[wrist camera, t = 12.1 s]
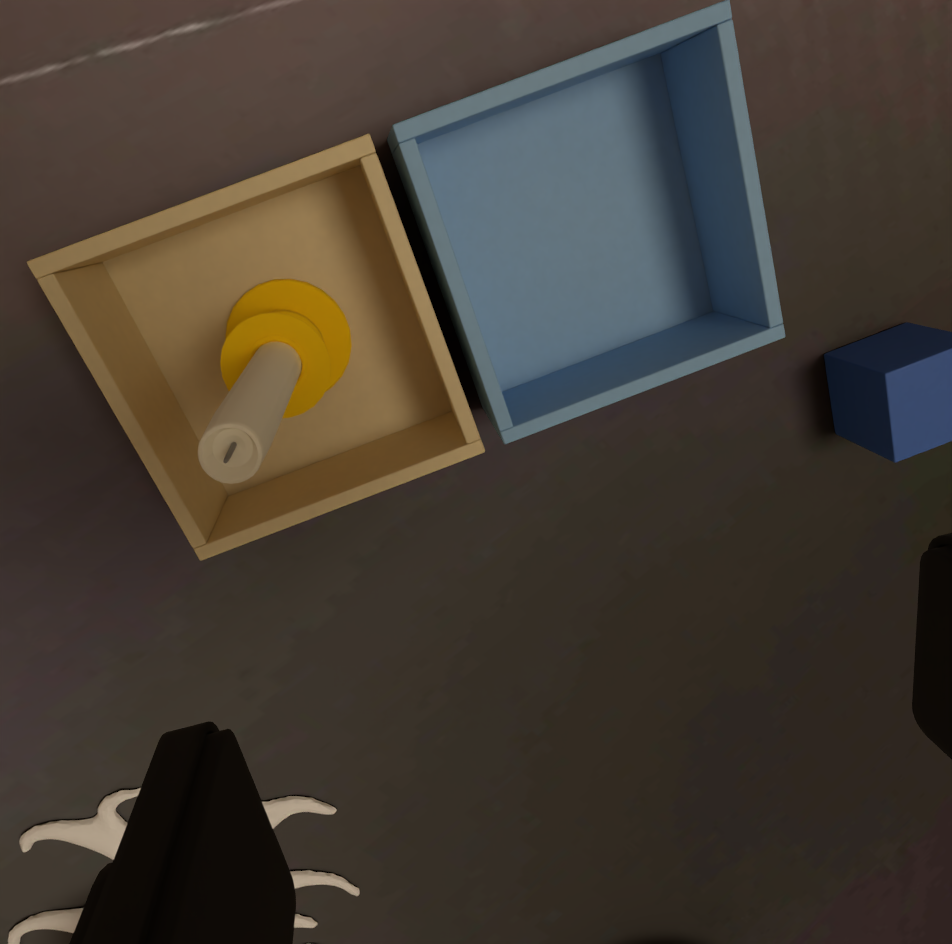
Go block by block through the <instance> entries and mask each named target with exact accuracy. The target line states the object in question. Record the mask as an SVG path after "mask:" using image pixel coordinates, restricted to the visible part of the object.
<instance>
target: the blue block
mask: <svg viewBox="0 0 952 944" xmlns="http://www.w3.org/2000/svg"><path fill="white" fill-rule="evenodd" d="M824 360H825V367H826V374H827V381H828V388H829V394H830V401H831V408H832V415H833V422H834V429H835V433H836V434H837V435H839V436H841V437H843V438H845V439H847V440H849V441H851V442H854V443H856V444H858V445H860V446H862V447H864V448H866V449H868V450H870V451H872V452H874V453H876V454H878V455H880V456H882V457H884V458H887V459H889V460H891V461H893V462H898V461H901V460H903V459H906V458H909V457H911V456H914V455H916V454H919V453H922V452H924V451H927V450H929V449H932V448H934V447H937V446H940V445H942V444H945V443H947V442H950V441H952V332H948V331H944V330H939V329H935V328H930V327H925V326H921V325H916V324H912V323H904V324H901V325H898V326H896V327H893V328H891V329H888V330H885V331H883V332H880V333H878V334H875V335H872V336H870V337H867V338H865V339H862V340H859V341H857V342H854V343H851V344H849V345H846V346H844V347H841V348H838V349H836V350H833V351H831V352H828V353H825V354H824Z"/></svg>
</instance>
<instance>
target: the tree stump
mask: <svg viewBox="0 0 952 944" xmlns="http://www.w3.org/2000/svg"><path fill="white" fill-rule="evenodd" d="M140 789H141V788H138V789H135V790H120V791H119V792H117V793H113V794H111V795H110V796H106V797H105V798H104V799H103V800H102V802H101V803H100V805H99V807H98V810H97V811H98V814H97V815H96V816H95V817H93V818H90V819H84V820H69V821H67V820H60V821H52V822H48V823H45V824H41V825H37V826H34V827H32V828H31V829H30V830H28V831H27V832H25V833H24V834H23V835H22V836H21V837H20V841H19V843H20V846H21V849H22V852H26V851H28V850H30V849H31V847H32V845H33V843H34V842H36V841H38V840H44V839H57V840H63V841H67V842H70V843H73V844H77V845H80V846H83V847H86V848H89V849H91V850H94V851H96V852H99V853H101V854H103V855H105V856H107V857H109V858H111V859H112V860H114V858H115V855H116V852H117V850H118V847H119V844H120V842H121V839H122V837H123V834H124V831H125V829H126V826H127V822H125V821H124V820H123V818H122V817H121V816H120V815H119V814H118V813H117V812H116V807H117V806H118V805H119V804H120V803H121V802H123V801H124V800H126V799H130V798H133V797H136V796H138V795H139V792H140ZM262 804H263V806H264V809H265V811H266V813H267V816H268V818H269V821H270V823H271V826H272V828H274V827H275V826H276V825H278V824H279V823H280V822H281V821H282V820H283V819H285V818H286V817H288V816H289V815H291V814H294V813H299V812H313V813H319V814H334V813H335V812H336V811H337V810H336V808H335V807H333V806H331V805H329V804H327V803H324V802H321V801H318V800H315V799H314V798H312V797H301V796H287V797H285V798H279V799H277V800H271V801H269V802H262ZM290 873H291V875H292V878H293V882H294V887H295V888H299V887H303V886H307V885H319V884H326V885H334V886H338V887H340V888H342V889H344V890H346V891H347V892H349V893H350V894H352V895H355V896H358V895H359V894H360V893H359V888H357V887H355V886H354V885H353V884H351V883H349V882H348V881H347V880H346V879H344V878H343V877H340V876H337V875H335V874H333V873H325V872H314V871H310V870H306V871H290ZM82 911H83V908H77V909H70V910H58V911H48V912H42V913H39V914H37V915H35V916H30V917H29V918H28V919H26V920H24V921H23V922H21V923H19V924H17V925H16V926H14V928H13V929H12V930H11V931H10V933H9V938H8V944H20V937H21V936H22V935H23V934H24V933H26V932H29V931H32V930H38V929H53V930H60V931H66V932H70V933H74V931H75V928H76V926H77V923H78V921H79V918H80V916H81V913H82ZM317 924H318V923H317V922H316V921H314V920H313V919H312V918H311V917H304V916H301V915H299V914H295V921H294V928H298V927H304V928H313V927H315V926H316V925H317ZM307 944H309V943H307Z"/></svg>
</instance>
